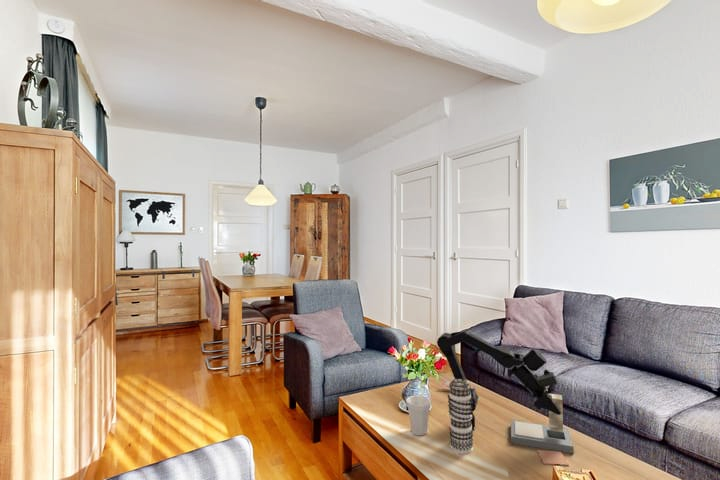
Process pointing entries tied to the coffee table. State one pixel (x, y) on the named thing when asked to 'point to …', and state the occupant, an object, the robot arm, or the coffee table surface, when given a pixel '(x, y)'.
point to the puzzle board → (540, 436)
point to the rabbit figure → (446, 384)
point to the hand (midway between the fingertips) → (559, 411)
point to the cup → (418, 413)
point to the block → (554, 418)
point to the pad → (552, 457)
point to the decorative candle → (460, 416)
